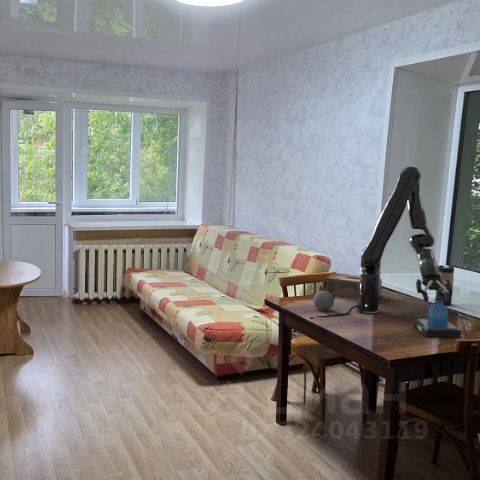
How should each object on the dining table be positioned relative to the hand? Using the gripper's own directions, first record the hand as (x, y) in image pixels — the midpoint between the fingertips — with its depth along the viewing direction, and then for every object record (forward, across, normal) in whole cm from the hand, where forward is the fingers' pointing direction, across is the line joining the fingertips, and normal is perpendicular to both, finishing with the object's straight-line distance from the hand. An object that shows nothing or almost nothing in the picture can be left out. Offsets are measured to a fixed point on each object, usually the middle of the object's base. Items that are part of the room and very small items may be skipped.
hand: (437, 301), depth 230 cm
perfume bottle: (+8, +1, +7) cm, 10 cm away
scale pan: (+8, +1, +7) cm, 11 cm away
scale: (+10, +1, +10) cm, 14 cm away
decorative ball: (-11, -43, +32) cm, 54 cm away
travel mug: (-22, +21, +42) cm, 51 cm away
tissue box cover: (-32, -21, +52) cm, 65 cm away
